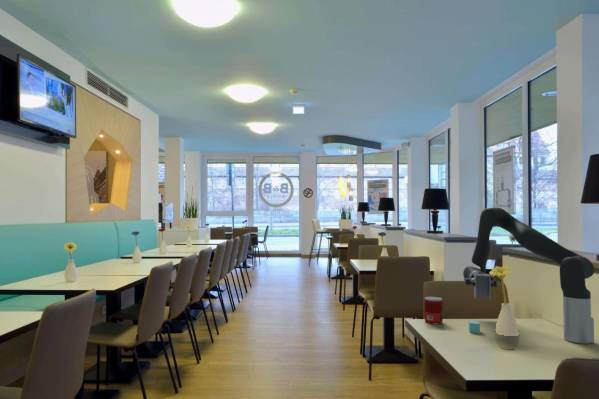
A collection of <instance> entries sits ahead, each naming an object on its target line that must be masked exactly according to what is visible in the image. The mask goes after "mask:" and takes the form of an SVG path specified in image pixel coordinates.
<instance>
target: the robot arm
mask: <svg viewBox="0 0 599 399" xmlns="http://www.w3.org/2000/svg"><path fill="white" fill-rule="evenodd" d="M493 228H501V229H503V230H504V231H505V232H508V233H510V234H511V235H512V237H513V238H514V239H515V241H516V243H518V244H519V246H521V247H523V248H524V249H526V250H527V251H529V252H531V253H532V254H534V255H537V256H540V257H543V258H544V259H548V260H550V261H552V262H554V263H557V264H558V265H559V282H560V283H559V284H560V289H561V291H562V308H563V309H562V310H563V311H562V313H563V314H562V315H563V339H564V340H565V341H567V342H571V343H575V344H585V345H586V344H592V343H593V344H594V343H595V321H594V320H595V319H594V317H592V301H591V299H592V294H591V291H590V290H589V289H588V288H587V286H586V279H587V280H588V279H589V278H591V277H592V276H594V274H595V266H594V263H592V261H591V260H589V258H587V257H585V256H583V255H581V254H579V253H577V252H574V251H573V250H570V249H568V248H566V247H564V246H563V245H561V244H560V243H558V242H557V241H555V240H553V239H552V238H550V237H548V236H546V235H545V234H543V233H541V232H540V231H538V230H537V229H535V228H533V227H531V226H530V225H528V224H526V223H525V222H522V221H520V220H518V218H516V217H514V216H513V215H511V214H510V213H509V212H508V211H506V210H505V209H503V208H501V207H487V208H484V209H483V210H482V211H481V213H480V217H479V222H478V229H477V230H478V231H477V238H476V243H475V247H474V250H473V254H472V257H471V263H472V264H474V265H475V266H477V267H479V268H477V267H473V266H471V265H469V266H466V267H465V268H464V269H463V272H462V273H463V274H462V275H463V284H464V285H466V286H472V287H473V288H474V287H475V281H474V273H477V274H487V263H488V260H489V257H490V253H491V244H490V243H491V242H490V235H491V232H492V229H493ZM497 282H498V281H497V279H496V278H495V279H492V280H491V289H492V288H493V287H494V288H496V287H498V283H497Z"/></svg>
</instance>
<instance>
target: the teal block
mask: <svg viewBox="0 0 599 399" xmlns="http://www.w3.org/2000/svg"><path fill="white" fill-rule="evenodd" d="M468 331H469V333H470V334H471V333H472V334H473V333H474V334H481V323H480V321H474V320H469V321H468Z"/></svg>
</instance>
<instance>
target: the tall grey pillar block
mask: <svg viewBox="0 0 599 399" xmlns="http://www.w3.org/2000/svg"><path fill="white" fill-rule="evenodd" d="M474 281H475V287H474V286H473V296H474V297H473V298H475V299H476V300H477V297H483V298H488V299H489V300H491V299H492V295H491V294H492V293H491V292H492V288H491V281H492V280H491V275H490V274H489V273H486V274H477V273H474Z"/></svg>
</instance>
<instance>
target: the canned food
mask: <svg viewBox="0 0 599 399" xmlns="http://www.w3.org/2000/svg"><path fill="white" fill-rule="evenodd" d="M423 301H424V322H425V323H427V322H428V323H427V324H431V323H441V324H443V316H444V314H443V311H444V310H443V309H444V308H443V302H444V301H443V298H442V297H437V296H425V297H424V300H423Z"/></svg>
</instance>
